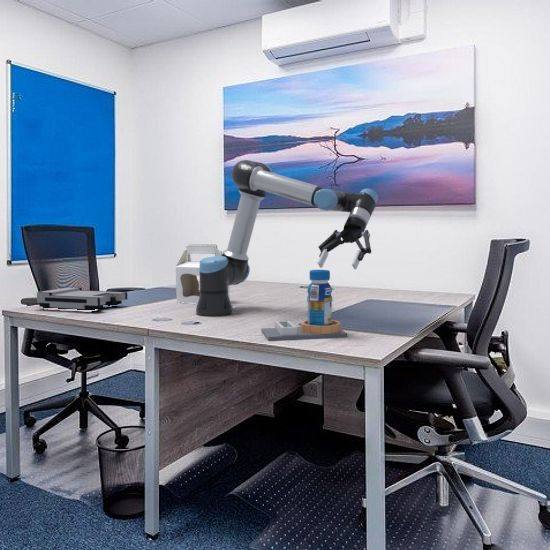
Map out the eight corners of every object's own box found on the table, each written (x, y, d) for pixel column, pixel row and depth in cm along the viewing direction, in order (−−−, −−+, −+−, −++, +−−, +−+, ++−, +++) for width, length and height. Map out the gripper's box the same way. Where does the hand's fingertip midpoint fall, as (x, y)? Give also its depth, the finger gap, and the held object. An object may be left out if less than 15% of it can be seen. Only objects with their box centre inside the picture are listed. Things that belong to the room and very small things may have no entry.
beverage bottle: (303, 328, 174) (303, 269, 172) (326, 326, 176) (326, 269, 175) (312, 333, 166) (312, 271, 164) (336, 331, 168) (336, 271, 167)
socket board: (268, 340, 161) (268, 329, 160) (261, 331, 174) (261, 321, 174) (347, 336, 165) (347, 325, 165) (334, 328, 179) (334, 318, 179)
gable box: (176, 303, 244) (174, 244, 241) (192, 299, 255) (190, 243, 253) (215, 305, 234) (214, 244, 231) (230, 302, 246) (229, 243, 243)
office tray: (98, 314, 214) (97, 295, 213) (37, 310, 224) (36, 292, 224) (127, 307, 234) (127, 289, 233) (70, 304, 244) (69, 287, 243)
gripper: (391, 229, 183) (372, 274, 172) (330, 230, 198) (310, 271, 187) (385, 214, 178) (365, 259, 168) (323, 216, 193) (302, 257, 182)
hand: (336, 266), depth 177 cm, fingers open, 13 cm apart
